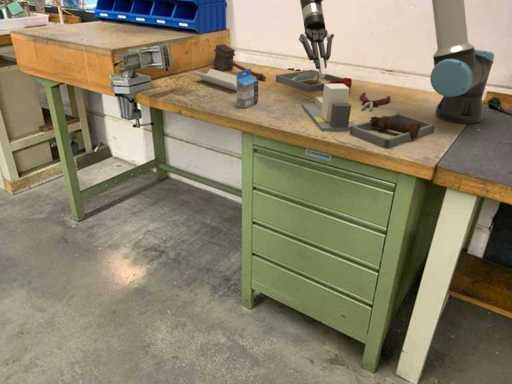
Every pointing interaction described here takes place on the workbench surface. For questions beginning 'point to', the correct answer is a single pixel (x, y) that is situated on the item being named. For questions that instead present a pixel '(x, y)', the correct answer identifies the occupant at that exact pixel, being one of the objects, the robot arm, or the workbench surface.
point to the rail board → (317, 113)
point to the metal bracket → (307, 76)
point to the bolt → (396, 125)
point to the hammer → (229, 61)
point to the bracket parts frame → (309, 88)
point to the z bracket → (219, 79)
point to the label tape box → (246, 89)
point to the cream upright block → (333, 98)
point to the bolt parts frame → (361, 132)
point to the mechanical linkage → (343, 82)
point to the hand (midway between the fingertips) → (322, 76)
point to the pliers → (373, 102)
